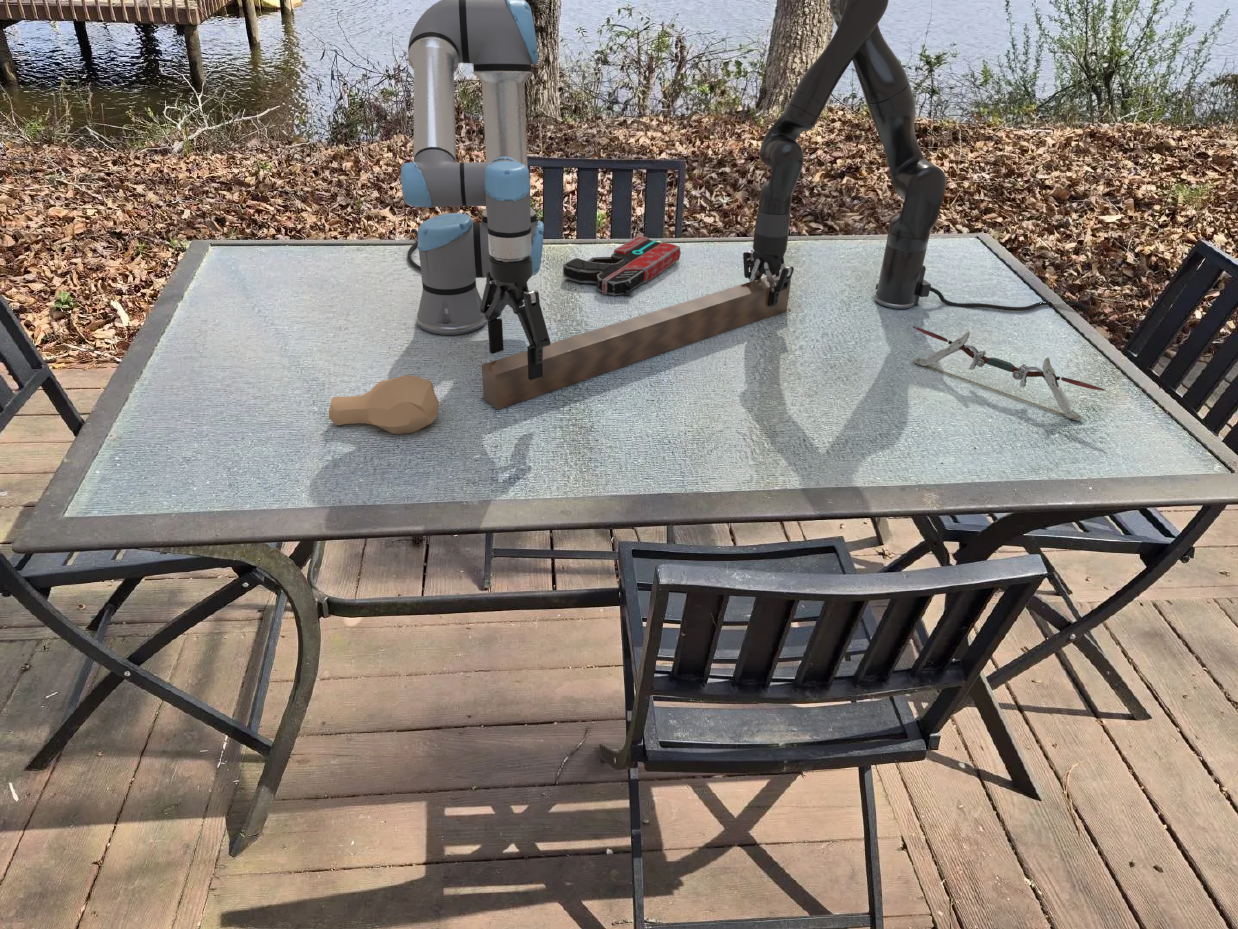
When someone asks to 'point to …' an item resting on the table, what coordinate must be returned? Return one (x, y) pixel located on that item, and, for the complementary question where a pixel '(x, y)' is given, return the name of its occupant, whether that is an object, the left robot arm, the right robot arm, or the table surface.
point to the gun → (624, 266)
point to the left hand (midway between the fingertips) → (515, 364)
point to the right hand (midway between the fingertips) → (762, 301)
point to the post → (628, 342)
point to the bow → (1018, 373)
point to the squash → (390, 405)
